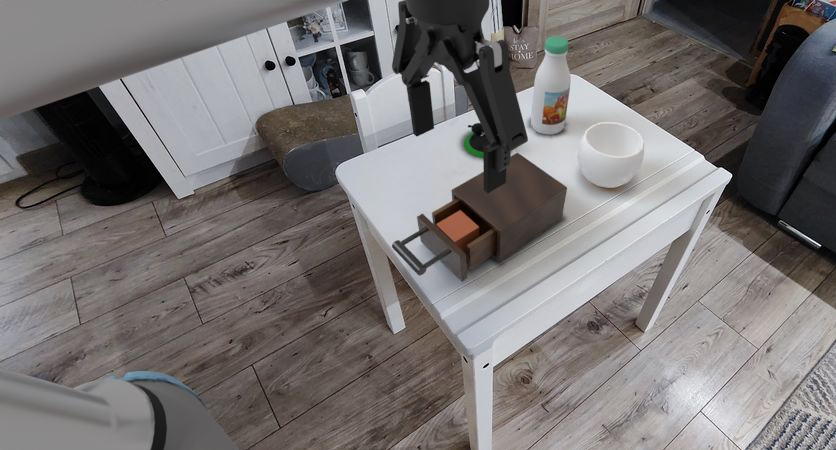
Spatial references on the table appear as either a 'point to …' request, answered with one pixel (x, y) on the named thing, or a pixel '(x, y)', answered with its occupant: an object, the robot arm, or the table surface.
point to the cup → (610, 154)
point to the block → (459, 229)
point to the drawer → (449, 242)
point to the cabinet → (515, 204)
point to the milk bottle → (551, 88)
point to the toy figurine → (475, 140)
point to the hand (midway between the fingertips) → (457, 157)
